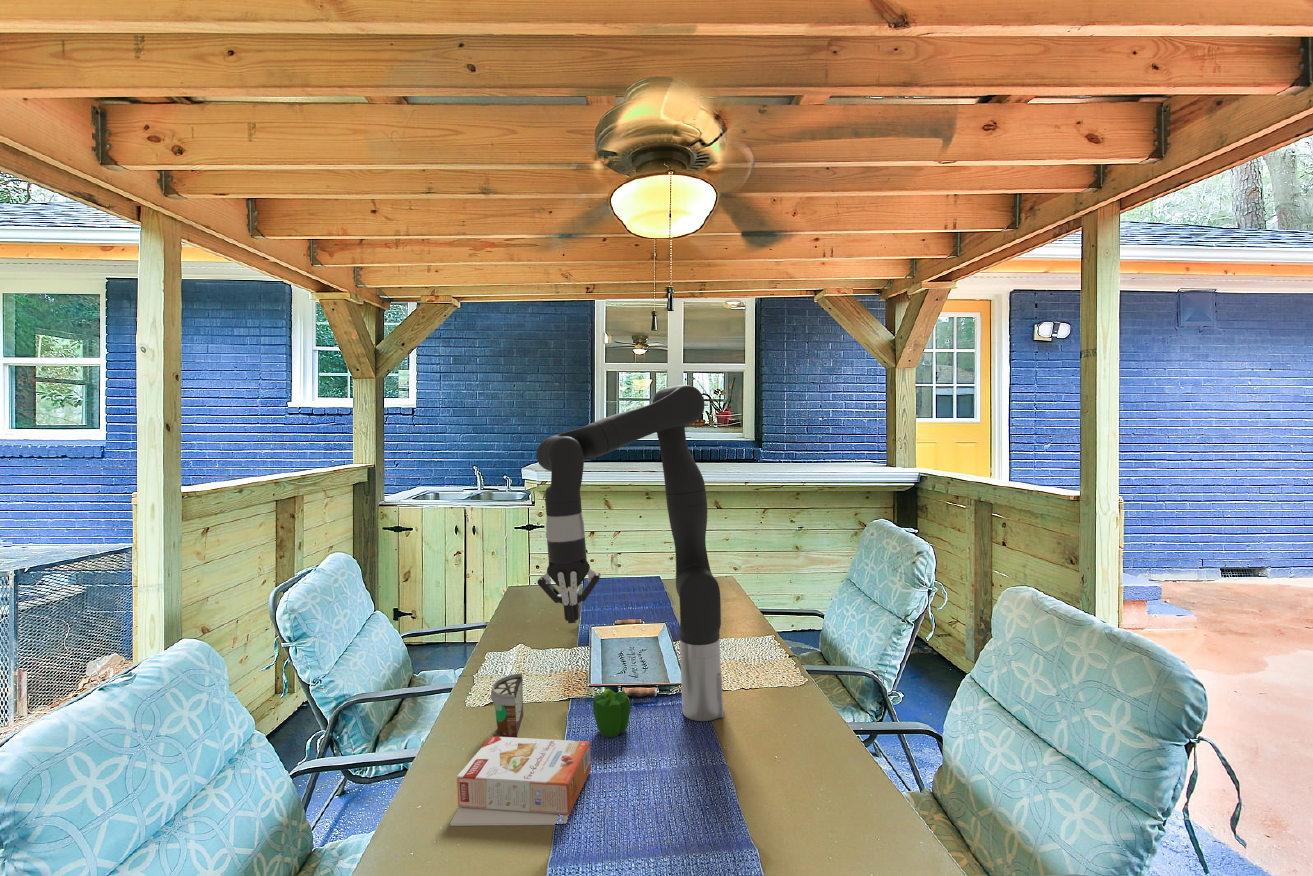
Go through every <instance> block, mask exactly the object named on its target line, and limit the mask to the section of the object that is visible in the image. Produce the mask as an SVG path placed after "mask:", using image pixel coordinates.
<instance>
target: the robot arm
mask: <svg viewBox="0 0 1313 876" xmlns="http://www.w3.org/2000/svg"><path fill="white" fill-rule="evenodd" d="M704 411H705V398H704V396H703V394H702V393H701V391H700V390H699V389H698V388H697V387H695V386H694V385H693V386H692V385H689V384H679V385H673V386H668V387H667V386H666V387H664V388H661V389H659V390H658V391H657V392H656V393H655V395H654V397H653V400H652V402H651V403H650V404H647V405H643V406H641V407H638V408H637V407H636V408H634V409H630V410H627V411H623V412H619V413H616V414H612V415H609V416H607V417H603V418H601V419H598V420H595V421H593V422H591V423H589V424H587V425H584V426H582V427H578V428H575V429H573V430H572V429H571V430H568V431H564V432H561V433H558V434H555V435H552V436H550V437H547V438H545V439H543V440H542V442H541V443H540V444H539V445H538V447H537V449H536V455H535V457H536V460H537V463H538V464H539V466H540V467H542V468H543V469H544V470H545V471H548V472H551V474H550V475H551V476H550V485H549V486H547V488H546V489H545V492H544V502H545V513H546V520H545V521H546V522H545V537H546V544H547V556H548V566H547V568H546V572H545V574H544V575H542V576H540V577H539V578H538V579H537V581H536V582H537V585H538V586H539V587H540V588H541V589H542V590H543V592H545V594H547V596H548V598H550V599H551V600H552V601H553V602H554V603H555V604H558V603H559V604H561V605H563V614H564V620H565V621H566V622H567V623H568V624H576V623H577V621H578V620H579V618H580V616H581V615H580V602H581V603H582V602H584V601H586V599H587V598H588V597H589V595H590V594H591V592H592V591H593V589H594V588H595V586H596V585H597V584H598V582H599V580H600V578H601V573H600V572H598V571H597V572H596V571H594V570H593V569H591V566H590V564H589V562H588V560H587V558H588V557H587V547H586V532H585V523H584V517H583V512H582V511H583V510H582V509H583V508H582V497H581V489H582V487H581V486H582V481H583V474H584V468H585V465H584V464H585V460H586V459H590V458H598V457H601V456H603V455H607V454H608V453H611V452H614V451H616V450H617V449H620V448H622V447H624V446H627V445H629V444H631V443H633V442H636V441H638V440H640V439H641V440H642V439H643V438H645V437H648V436H650V435H652V434H655V433H656V436H657V438H658V445H659V450H660V455H661V456H660V457H661V463H662V464H661V465H662V470H663V471H662V472H663V478H664V488H665V489H664V490H665V499H666V507H667V513H668V520H669V524H670V529H671V530H670V531H671V535H672V538H673V543H674V551H675V588H676V590H675V591H676V593H677V595H678V598H679V614H680V615H679V620H680V623H679V624H680V625H679V629H678V632H679V633H678V634H679V657H680V658H679V659H680V660H679V661H680V678H681V679H680V681H681V683H680V684H681V706H682V710H681V711H682V715H684V717H686V718H687V719H689V720H692V721H694V722H695V721H696V722H709V721H714V720H716V719H719V718H721V719H722V718H724V699H723V698H724V697H723V677H722V676H723V675H722V667H721V666H722V663H721V642H720V636H721V635H720V631H721V626H722V625H721V624H722V611H721V609H722V608H721V606H722V605H721V602H722V601H721V590H720V585H719V583H718V581H717V579H716V577H714V575H713V572H712V571H711V567H710V562H709V557H708V552H707V546H706V542H707V541H706V539H707V538H706V536H707V527H708V526H707V524H708V499H707V491H706V485H705V479H704V477H703V475H702V472H701V470H700V469H699V467H698V465H697V463H696V462H695V459H694V458H693V456H692V454H691V452H690V450H689V446H688V443H687V437H686V429H685V427H686V426H689V425H692V424H694V423H697V421H699V419H701V417H702V415H703V413H704ZM586 577H587V582H588V583H587V585H586V586H585V588H584V590H582V592H581V593H580V585H581V584H582V583H583V581H584V580H585V578H586ZM552 581H553V583H555V584H556V586H557V587H559V590H560V591H558V589H557V588H556V587H555V586H554V585H553V584H552Z"/></svg>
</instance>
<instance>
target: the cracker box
mask: <svg viewBox="0 0 1313 876" xmlns="http://www.w3.org/2000/svg"><path fill="white" fill-rule="evenodd" d="M591 757H592V756H591V741H585V740H569V739H568V740H567V739H566V740H564V739H550V738H549V739H548V738H533V737H532V738H530V737H518V738H513V737H502V736H493V735H491V736H490V737H489V738H488V739H487V740H486V742H485V743H484V744H483V746H481V748H480V749H479V750H478V751H477V753H475V754H474V756H473V757H472V758H471V759H470V761H469V762H467V764H466V765H465V766H464V767H463V769H462V770H461V771H460V772H459V774H457V776H456V787H457V788H456V789H457V806H458V808H459V807H471V808H484V809H499V810H513V811H526V812H541V813H555V814H569V815H570V814H571V812H572V810H573V808H574V805H575V803H576V801H577V799H578V798H579V795H580V794H581V793H580V792H581V791H582V789H583V787H584V784H585V783H586V781H587V778H588V776H589V775H590V773H591V770H592V762H591V759H592V758H591Z"/></svg>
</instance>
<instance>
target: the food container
mask: <svg viewBox="0 0 1313 876" xmlns="http://www.w3.org/2000/svg"><path fill="white" fill-rule="evenodd" d="M523 681H524V679H523V673H522V672H521V673H514V674H513V673H512V674H509V675H507V676H504V677H502V678H500V679H498V680H497V681H495V682H494V684H493V685H492V687H491V691H490V700H491V702H493V703H494V711H495V719H496V720H495V721H496V728H497V733H498V735H499V737H513V738H519V734H520V730H521V728H522V724H523V721H524V694H523V693H524V691H523Z"/></svg>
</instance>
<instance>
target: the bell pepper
mask: <svg viewBox="0 0 1313 876" xmlns="http://www.w3.org/2000/svg"><path fill="white" fill-rule="evenodd" d="M631 705H632V704H631V700H630V698H629V696H628V695H627V693H626V691H624V690H621V691H618V692H615V691H614V690H612V689H610V688H607V689H605V690H604V691H602V692H601V693H600V694H595V695H594V697H593V703H592V708H593V711H592V712H593V716H594V720H595V722H596V727H597V730H598V732H599V733H600V735H601V736H602V737H604V738H607V737H613V738H615V737H618V736H619V734H622V733H624V732H626V731H627V728H628V724H629V722H630V721H629V720H630V715H631V711H632V710H631V709H632V708H631Z"/></svg>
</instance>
